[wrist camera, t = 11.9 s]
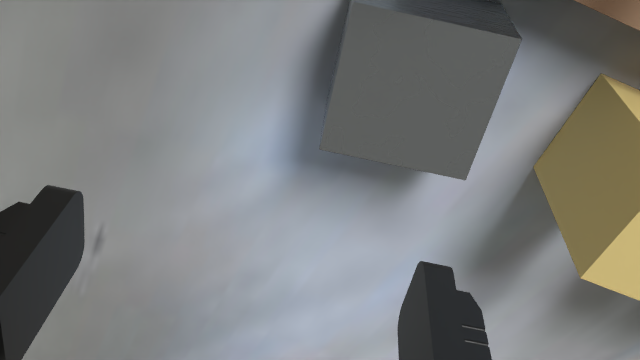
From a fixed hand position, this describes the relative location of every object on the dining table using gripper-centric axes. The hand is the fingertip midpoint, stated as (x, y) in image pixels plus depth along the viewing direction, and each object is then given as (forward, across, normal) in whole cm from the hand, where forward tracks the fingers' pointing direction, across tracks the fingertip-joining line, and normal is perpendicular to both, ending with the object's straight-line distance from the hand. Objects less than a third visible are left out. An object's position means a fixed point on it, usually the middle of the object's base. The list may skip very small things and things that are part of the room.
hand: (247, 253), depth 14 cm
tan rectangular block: (+18, -16, +3) cm, 24 cm away
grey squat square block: (+18, -5, +1) cm, 19 cm away
